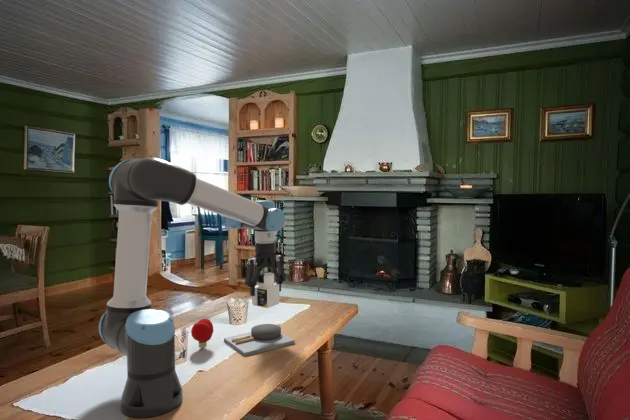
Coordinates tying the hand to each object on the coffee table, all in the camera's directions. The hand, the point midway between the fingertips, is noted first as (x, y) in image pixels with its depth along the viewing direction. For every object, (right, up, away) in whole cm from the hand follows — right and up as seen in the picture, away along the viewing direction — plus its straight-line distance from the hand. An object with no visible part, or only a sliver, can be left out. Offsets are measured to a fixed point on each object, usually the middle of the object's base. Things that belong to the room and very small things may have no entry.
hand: (265, 302), depth 156 cm
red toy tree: (-21, -14, -9) cm, 27 cm away
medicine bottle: (0, -1, 0) cm, 1 cm away
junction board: (-2, -14, -3) cm, 14 cm away
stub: (0, -12, +1) cm, 12 cm away
